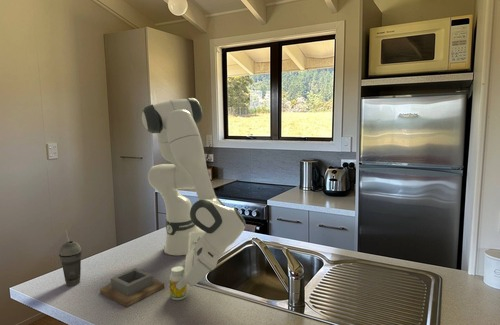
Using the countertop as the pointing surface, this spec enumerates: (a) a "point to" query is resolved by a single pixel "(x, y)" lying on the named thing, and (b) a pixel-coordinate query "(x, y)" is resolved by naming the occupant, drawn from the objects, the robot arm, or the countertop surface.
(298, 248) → the countertop surface
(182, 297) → the supplement bottle
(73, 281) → the beverage cup
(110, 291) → the collar socket
